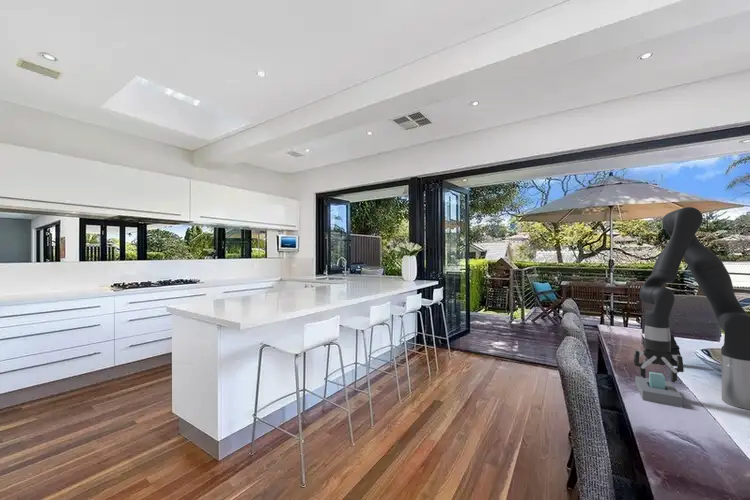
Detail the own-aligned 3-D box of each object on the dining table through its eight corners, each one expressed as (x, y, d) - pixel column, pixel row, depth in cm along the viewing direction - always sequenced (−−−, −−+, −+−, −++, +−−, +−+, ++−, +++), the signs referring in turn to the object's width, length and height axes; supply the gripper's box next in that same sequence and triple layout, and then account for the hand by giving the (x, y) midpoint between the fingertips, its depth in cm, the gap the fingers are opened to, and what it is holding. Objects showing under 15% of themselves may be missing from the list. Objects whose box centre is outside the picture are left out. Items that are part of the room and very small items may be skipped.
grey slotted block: (635, 384, 132) (635, 376, 132) (670, 390, 127) (670, 381, 127) (642, 399, 119) (642, 390, 119) (682, 407, 113) (682, 397, 113)
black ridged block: (691, 365, 149) (672, 334, 153) (657, 371, 156) (640, 341, 160) (690, 363, 152) (671, 332, 156) (657, 369, 159) (640, 340, 163)
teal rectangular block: (662, 394, 123) (662, 373, 123) (665, 398, 120) (665, 377, 120) (649, 391, 126) (649, 371, 126) (651, 395, 122) (651, 375, 122)
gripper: (679, 337, 122) (679, 379, 122) (632, 333, 129) (632, 372, 129) (685, 342, 116) (686, 387, 115) (635, 337, 123) (636, 379, 123)
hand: (658, 379), depth 122 cm, fingers open, 8 cm apart
